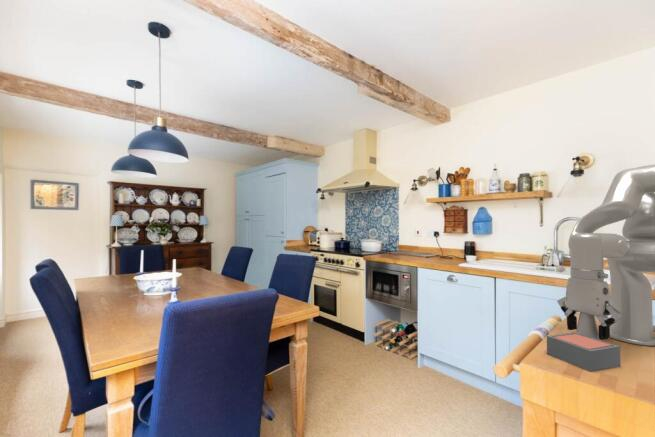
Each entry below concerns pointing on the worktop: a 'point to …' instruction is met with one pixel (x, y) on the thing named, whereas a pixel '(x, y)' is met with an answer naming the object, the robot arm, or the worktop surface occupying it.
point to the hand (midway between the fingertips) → (587, 333)
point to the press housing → (584, 353)
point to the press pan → (583, 341)
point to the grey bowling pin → (587, 326)
